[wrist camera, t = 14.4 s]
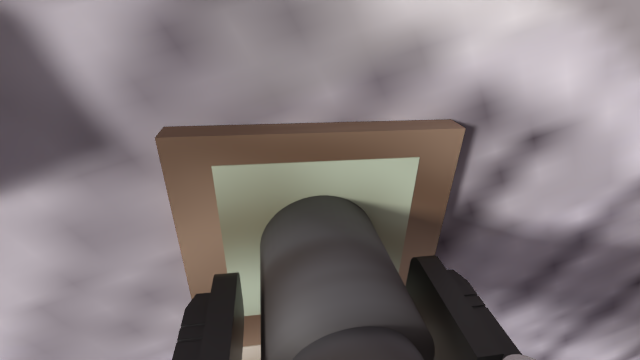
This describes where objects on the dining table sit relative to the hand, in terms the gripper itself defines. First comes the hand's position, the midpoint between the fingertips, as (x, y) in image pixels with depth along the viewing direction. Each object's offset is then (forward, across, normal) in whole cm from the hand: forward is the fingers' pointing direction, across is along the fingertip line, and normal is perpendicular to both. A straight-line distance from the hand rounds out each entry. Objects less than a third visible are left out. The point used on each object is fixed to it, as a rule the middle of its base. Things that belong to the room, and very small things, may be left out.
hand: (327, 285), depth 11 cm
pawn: (+2, 0, 0) cm, 2 cm away
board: (+3, 0, +4) cm, 5 cm away
